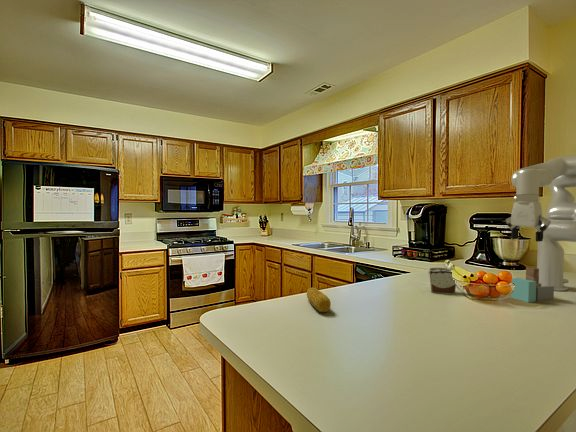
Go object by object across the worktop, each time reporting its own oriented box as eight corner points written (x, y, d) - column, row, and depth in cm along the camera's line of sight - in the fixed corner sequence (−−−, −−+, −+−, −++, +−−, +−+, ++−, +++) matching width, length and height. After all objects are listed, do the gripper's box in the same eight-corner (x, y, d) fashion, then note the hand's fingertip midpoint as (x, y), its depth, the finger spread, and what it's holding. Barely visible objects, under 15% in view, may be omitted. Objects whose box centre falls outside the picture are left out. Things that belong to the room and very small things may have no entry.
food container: (452, 290, 142) (453, 267, 141) (458, 294, 136) (459, 270, 135) (423, 289, 143) (424, 267, 143) (428, 292, 137) (428, 269, 136)
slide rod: (530, 289, 131) (531, 267, 131) (538, 290, 128) (539, 268, 128) (518, 290, 129) (518, 268, 129) (525, 292, 126) (526, 269, 126)
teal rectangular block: (518, 296, 132) (518, 277, 132) (535, 301, 125) (536, 281, 125) (510, 297, 131) (511, 278, 131) (528, 302, 124) (528, 282, 124)
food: (332, 314, 108) (333, 296, 108) (316, 315, 107) (317, 297, 107) (315, 297, 128) (315, 282, 128) (302, 297, 127) (302, 282, 127)
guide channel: (538, 295, 135) (538, 283, 135) (553, 299, 129) (554, 286, 129) (523, 296, 132) (523, 284, 132) (537, 300, 127) (538, 287, 126)
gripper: (500, 199, 139) (500, 238, 140) (543, 198, 123) (543, 242, 124) (512, 199, 142) (512, 237, 143) (556, 198, 126) (555, 241, 126)
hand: (526, 240), depth 133 cm, fingers open, 9 cm apart
